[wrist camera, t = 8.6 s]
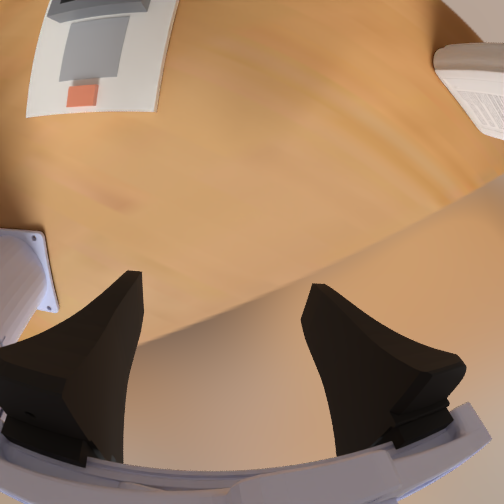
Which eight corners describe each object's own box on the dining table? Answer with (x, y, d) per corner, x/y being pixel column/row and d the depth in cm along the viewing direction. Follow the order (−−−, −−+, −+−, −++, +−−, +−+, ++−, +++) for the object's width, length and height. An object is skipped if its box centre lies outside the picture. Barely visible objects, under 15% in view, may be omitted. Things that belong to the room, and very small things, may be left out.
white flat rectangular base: (32, 117, 14) (10, 120, 11) (81, -56, 7) (69, -71, 4) (156, 112, 16) (146, 111, 13) (203, -70, 9) (203, -90, 6)
